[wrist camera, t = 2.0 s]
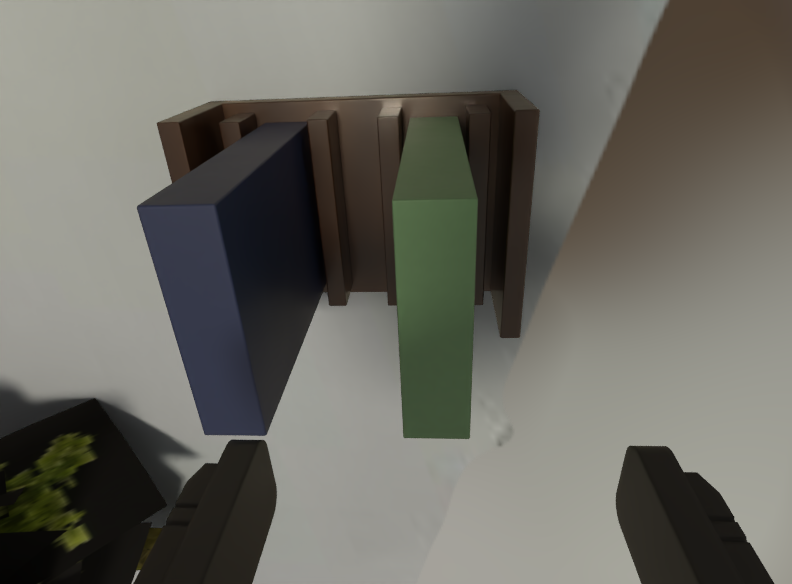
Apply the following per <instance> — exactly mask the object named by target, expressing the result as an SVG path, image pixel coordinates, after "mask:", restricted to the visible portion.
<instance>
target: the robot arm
mask: <svg viewBox="0 0 792 584" xmlns="http://www.w3.org/2000/svg"><path fill="white" fill-rule="evenodd" d="M276 498H277V489H276V483H275V478H274V474H273V469H272V465H271V461H270V456H269V452H268V447H267V444H266V442H265V441H264V440H230V441H229V442H228V444H227V446H226V447H225V450H224V452H223V454H222V456H221V458H220V460H219V462H218V464H213V463H205V464H204V465H203V466H202V467H201V468H200V469H199V470H198V471H197V472H196V473H195V474H194V475H193V476H192V477H191V478H190V479H189V480H188V481H187V483H186V484H185V486H184V488H183V490H182V492H181V494H180V496H179V498H178V500H177V502H176V506H175V508H173V509H172V511H171V513H170V515H169V517H168V519H167V521H166V526H163V528H162V530H161V532H160V534H159V536H158V538H157V540H156V542H155V544H154V545H153V547H152V549H151V551H150V553H149V555H148V557H147V559H146V561H145V563H144V565H143V566H142V568H141V570H140V572H139V574H138V576H137V578H136V580H135V582H134V584H252V582H253V579H254V576H255V573H256V570H257V566H258V563H259V560H260V557H261V554H262V551H263V548H264V544H265V541H266V538H267V535H268V532H269V529H270V525H271V522H272V519H273V516H274V512H275V507H276ZM616 509H617V516H618V520H619V524H620V526H621V529H622V532H623V534H624V537H625V540H626V543H627V545H628V548H629V551H630V554H631V556H632V559H633V562H634V564H635V567H636V570H637V573H638V575H639V578H640V581H641V583H642V584H774V582H773V581H772V579H771V578H770V576H769V574H768V572H767V571H766V569H765V567H764V566H763V564H762V563H761V561H760V559H759V558H758V556H757V554H756V553H755V551H754V549H753V548H752V546H751V544H750V543H748V542H747V540H746V536H745V534H744V532H743V531H742V529H741V527H740V526H739V524H738V523H737V522H735V520H734V516H733V514H732V513H731V511H730V509H729V508H728V506H727V504H726V503H725V501H724V499H723V498H722V496H721V494H720V493H719V492H718V491H717V490H716V489H715V488H714V487H712V486H711V485H710V484H709V483H708V482H707V481H706V480H705V479H703V478H702V477H701V476H700V475H699V474H698V473H692V472H683V470H682V469H681V467H680V465H679V463H678V461H677V459H676V458H675V456H674V454H673V452H672V451H671V450H670V449H669V448H668V447H666V446H629V447H628V448H627V450H626V454H625V458H624V462H623V467H622V471H621V476H620V480H619V484H618V488H617V493H616Z"/></svg>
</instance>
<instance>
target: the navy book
mask: <svg viewBox="0 0 792 584" xmlns="http://www.w3.org/2000/svg"><path fill="white" fill-rule="evenodd" d="M137 210H138V213H139V217H140V220H141V223H142V227H143V230H144V233H145V237H146V240H147V243H148V247H149V250H150V253H151V257H152V260H153V263H154V267H155V270H156V273H157V277H158V280H159V283H160V287H161V290H162V293H163V297H164V300H165V303H166V307H167V310H168V313H169V317H170V320H171V323H172V327H173V330H174V333H175V337H176V340H177V344H178V347H179V350H180V354H181V357H182V360H183V364H184V367H185V370H186V374H187V377H188V380H189V384H190V387H191V390H192V394H193V397H194V400H195V404H196V407H197V410H198V414H199V417H200V420H201V424H202V427H203V430H204V434H205V435H251V436H265V435H267V432H268V430H269V427H270V424H271V422H272V419H273V417H274V414H275V412H276V409H277V407H278V404H279V402H280V399H281V397H282V394H283V392H284V389H285V386H286V384H287V381H288V379H289V376H290V374H291V371H292V369H293V366H294V364H295V361H296V359H297V356H298V354H299V351H300V349H301V346H302V343H303V341H304V338H305V336H306V333H307V331H308V328H309V326H310V323H311V321H312V318H313V316H314V313H315V311H316V308H317V305H318V303H319V300H320V298H321V295H322V293H323V290H324V288H325V285H326V275H325V267H324V259H323V250H322V242H321V234H320V226H319V218H318V210H317V202H316V194H315V185H314V177H313V169H312V161H311V153H310V145H309V137H308V128H307V122H278V123H264V124H263V125H261V126H260V127H258V128H257V129H255V130H254V131H252V132H251V133H249V134H247V135H246V136H244V137H243V138H241V139H240V140H238V141H237V142H235V143H234V144H232V145H231V146H229V147H227V148H226V149H224V150H223V151H221V152H220V153H218V154H217V155H215V156H214V157H212V158H211V159H209V160H207V161H206V162H204V163H203V164H201V165H200V166H198V167H197V168H195V169H194V170H192V171H191V172H189V173H187V174H186V175H184V176H183V177H181V178H180V179H178V180H177V181H175V182H174V183H172V184H171V185H169V186H167V187H166V188H164V189H163V190H161V191H160V192H158V193H157V194H155V195H154V196H152V197H150V198H149V199H147V200H146V201H144V202H143V203H141V204H140V205H138V206H137Z"/></svg>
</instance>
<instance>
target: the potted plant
mask: <svg viewBox="0 0 792 584" xmlns="http://www.w3.org/2000/svg"><path fill="white" fill-rule="evenodd" d="M166 506H167V503H166V502H165V500H164V499H163V497H162V496H161V494H160V492H159V491H158V489H157V488H156V486H155V484H154V483H153V481H152V480H151V478H150V477H149V475H148V473H147V472H146V470H145V469H144V467H143V466H142V464H141V463H140V461H139V460H138V458H137V457H136V455H135V454H134V452H133V451H132V449H131V448H130V446H129V445H128V443H127V442H126V440H125V439H124V437H123V436H122V434H121V433H120V431H119V430H118V429H117V427H116V426H115V425H114V423H113V422H112V421H111V419H110V418H109V416H108V415H107V414H106V412H105V411H104V410H103V408H102V407H101V406H100V404H99V403H98V402H97V400H96V399H95V398H94V399H92V400H90V401H87V402H85V403H82V404H80V405H77V406H75V407H73V408H70V409H68V410H65V411H63V412H61V413H58V414H56V415H53V416H51V417H48V418H46V419H44V420H41V421H39V422H36V423H34V424H32V425H30V426H28V427H25V428H23V429H21V430H19V431H16V432H14V433H12V434H10V435H8V436H5V437H3V438H1V439H0V584H131V583H132V580H133V578H134V575H135V572H136V570H141V568H142V566H143V565H144V563H145V561H146V559H147V557H148V555H149V553H150V551H151V549H152V547H153V545H154V544H155V542H156V540H157V538H158V536H159V534H160V532H161V530H162V528H150V527H151V524H152V522H149V523H141V522H142V521H144V520H145V519H147V518H148V517H150V516H152V515H153V514H155V513H156V512H158V511H159V510H161V509H163V508H164V507H166Z"/></svg>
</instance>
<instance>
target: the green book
mask: <svg viewBox="0 0 792 584" xmlns="http://www.w3.org/2000/svg"><path fill="white" fill-rule="evenodd" d="M477 213H478V198H477V194H476V190H475V186H474V181H473V177H472V173H471V169H470V165H469V161H468V157H467V153H466V149H465V145H464V141H463V137H462V132H461V128H460V124H459V120H458V117H457V116H449V117H420V118H410V120H409V125H408V130H407V134H406V139H405V143H404V148H403V153H402V157H401V162H400V166H399V171H398V176H397V180H396V185H395V189H394V194H393V199H392V214H393V235H394V255H395V275H396V295H397V315H398V335H399V356H400V376H401V396H402V416H403V436H404V438H446V439H469V438H470V418H471V389H472V360H473V330H474V301H475V272H476V243H477Z"/></svg>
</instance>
